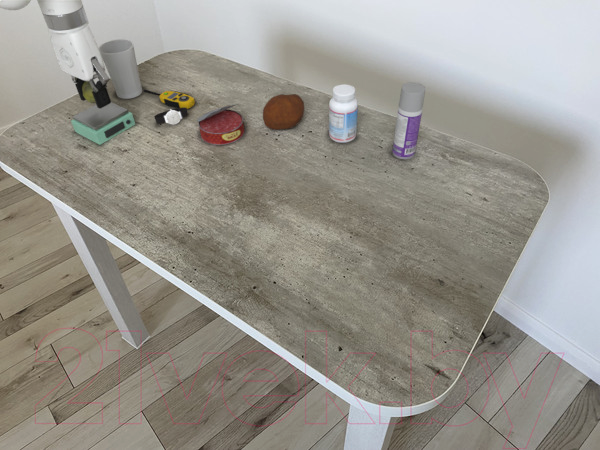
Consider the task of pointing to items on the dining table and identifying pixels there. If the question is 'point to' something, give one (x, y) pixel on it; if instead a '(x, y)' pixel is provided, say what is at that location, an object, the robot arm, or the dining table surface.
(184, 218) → the dining table surface
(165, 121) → the watch
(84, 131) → the scale
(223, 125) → the canned food
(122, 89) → the cup
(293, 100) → the potato
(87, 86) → the lime
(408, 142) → the container
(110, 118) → the scale pan
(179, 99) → the yellow walkie talkie
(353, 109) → the pill bottle
